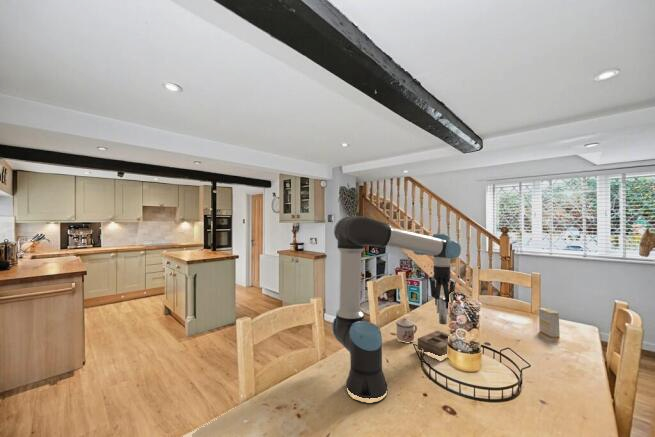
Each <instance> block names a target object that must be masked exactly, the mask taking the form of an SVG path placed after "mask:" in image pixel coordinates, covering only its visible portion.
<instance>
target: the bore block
mask: <svg viewBox="0 0 655 437" xmlns="http://www.w3.org/2000/svg"><path fill="white" fill-rule="evenodd" d="M449 335H450V334H448V333H445V332H442V331H440V330H435V331H433V332H431V333H428V334H426V335H423V336H420V337H418V338H417V350H418V349H419V350H421V348H423V347H424V352H430V353H433V354H435V355H438V356H442V355H445V354H447V340H448V336H449Z"/></svg>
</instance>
